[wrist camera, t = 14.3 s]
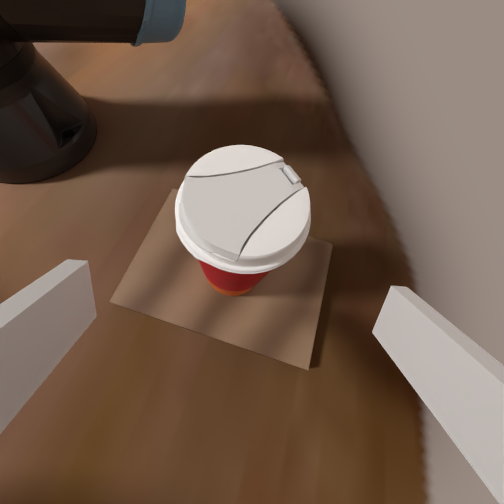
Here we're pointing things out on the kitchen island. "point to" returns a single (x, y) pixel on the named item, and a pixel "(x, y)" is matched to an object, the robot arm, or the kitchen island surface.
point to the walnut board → (228, 307)
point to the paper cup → (241, 215)
